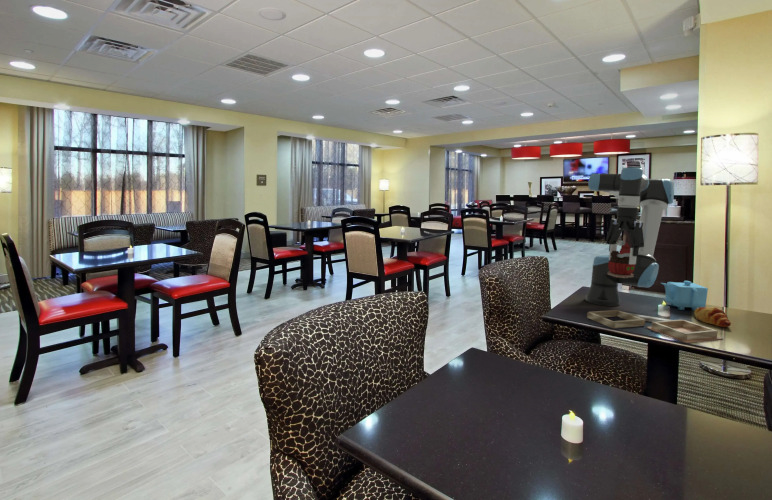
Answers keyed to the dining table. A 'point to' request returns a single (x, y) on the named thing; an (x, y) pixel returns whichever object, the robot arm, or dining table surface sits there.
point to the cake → (621, 261)
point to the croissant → (712, 316)
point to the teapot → (685, 295)
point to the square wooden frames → (658, 325)
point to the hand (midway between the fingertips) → (621, 261)
